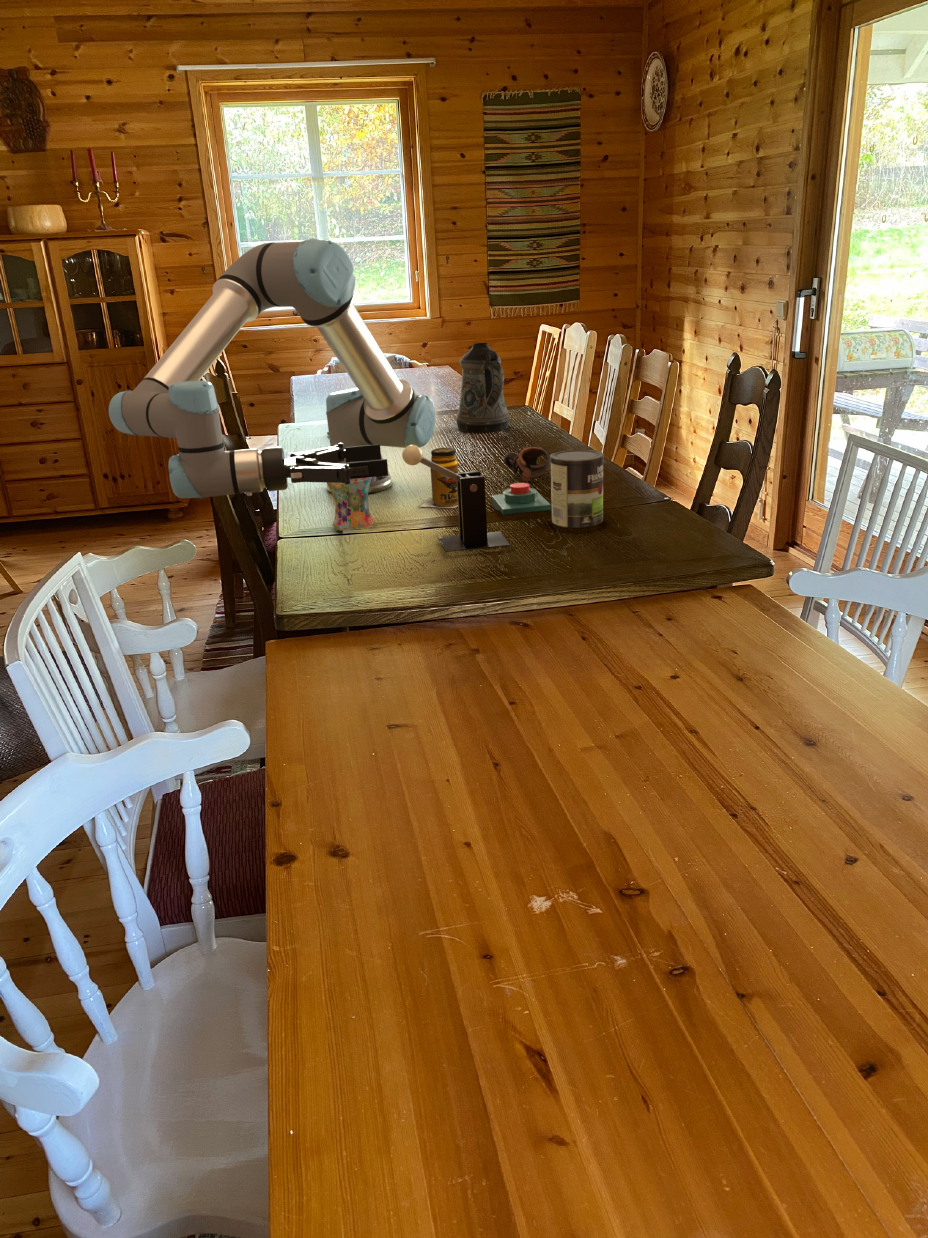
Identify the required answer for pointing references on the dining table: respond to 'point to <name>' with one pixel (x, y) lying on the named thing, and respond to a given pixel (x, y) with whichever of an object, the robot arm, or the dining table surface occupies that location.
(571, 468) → the coffee can
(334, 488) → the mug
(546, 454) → the pottery mug
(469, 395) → the grey ceramic pitcher
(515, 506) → the button box
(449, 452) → the condiment
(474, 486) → the bracket
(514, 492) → the button
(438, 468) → the lever
